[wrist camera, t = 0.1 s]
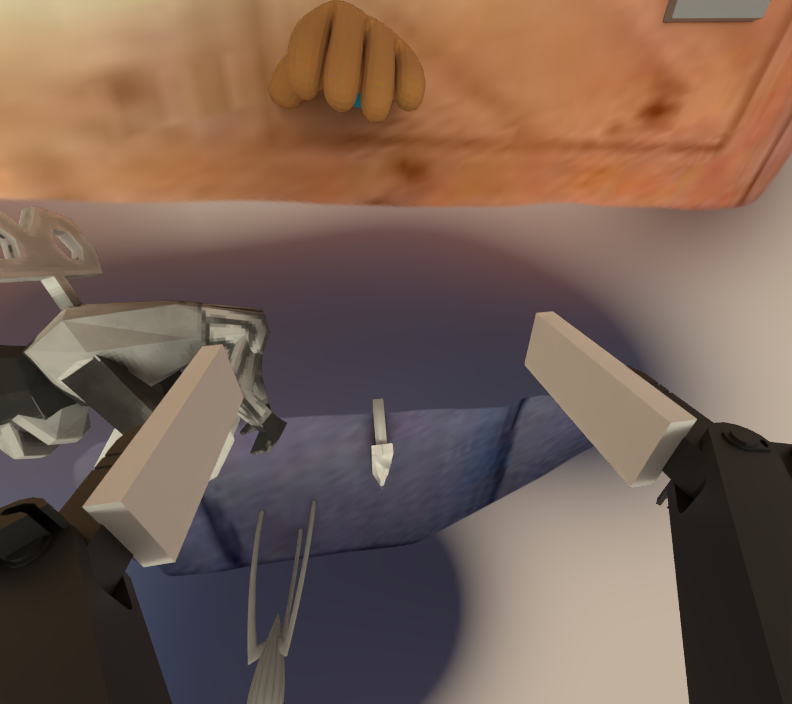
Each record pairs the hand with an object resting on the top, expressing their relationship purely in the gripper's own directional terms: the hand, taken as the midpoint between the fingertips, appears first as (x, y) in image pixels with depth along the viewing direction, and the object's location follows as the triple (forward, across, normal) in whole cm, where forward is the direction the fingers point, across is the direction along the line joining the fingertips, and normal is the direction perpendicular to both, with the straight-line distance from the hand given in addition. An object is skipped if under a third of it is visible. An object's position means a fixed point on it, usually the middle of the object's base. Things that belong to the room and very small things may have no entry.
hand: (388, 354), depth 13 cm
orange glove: (+28, 0, +13) cm, 31 cm away
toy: (+28, -25, -11) cm, 39 cm away
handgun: (+28, 0, -36) cm, 46 cm away
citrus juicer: (+28, -21, -55) cm, 65 cm away
